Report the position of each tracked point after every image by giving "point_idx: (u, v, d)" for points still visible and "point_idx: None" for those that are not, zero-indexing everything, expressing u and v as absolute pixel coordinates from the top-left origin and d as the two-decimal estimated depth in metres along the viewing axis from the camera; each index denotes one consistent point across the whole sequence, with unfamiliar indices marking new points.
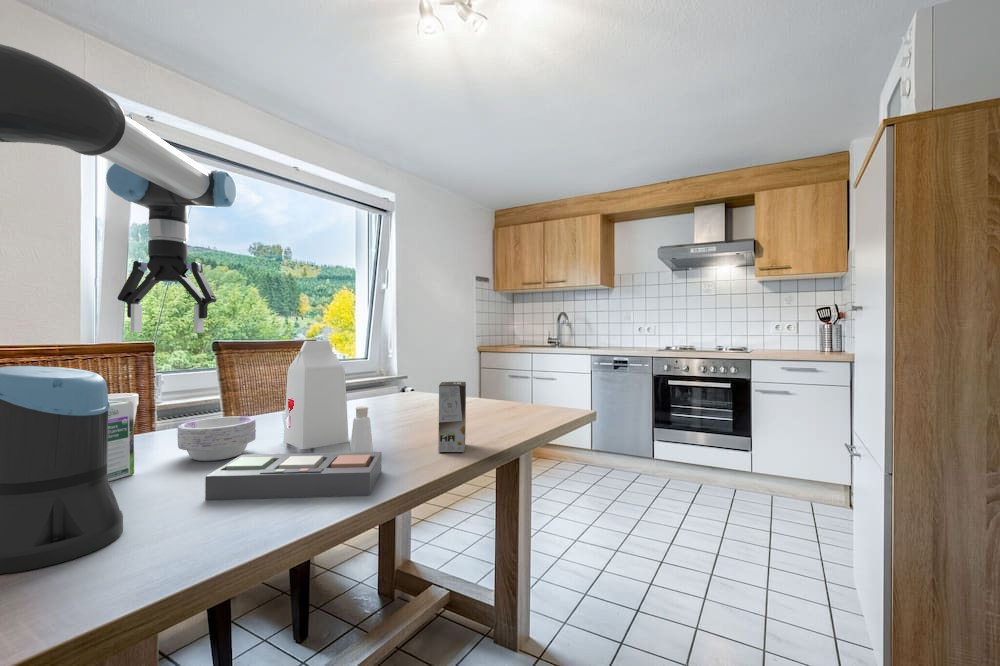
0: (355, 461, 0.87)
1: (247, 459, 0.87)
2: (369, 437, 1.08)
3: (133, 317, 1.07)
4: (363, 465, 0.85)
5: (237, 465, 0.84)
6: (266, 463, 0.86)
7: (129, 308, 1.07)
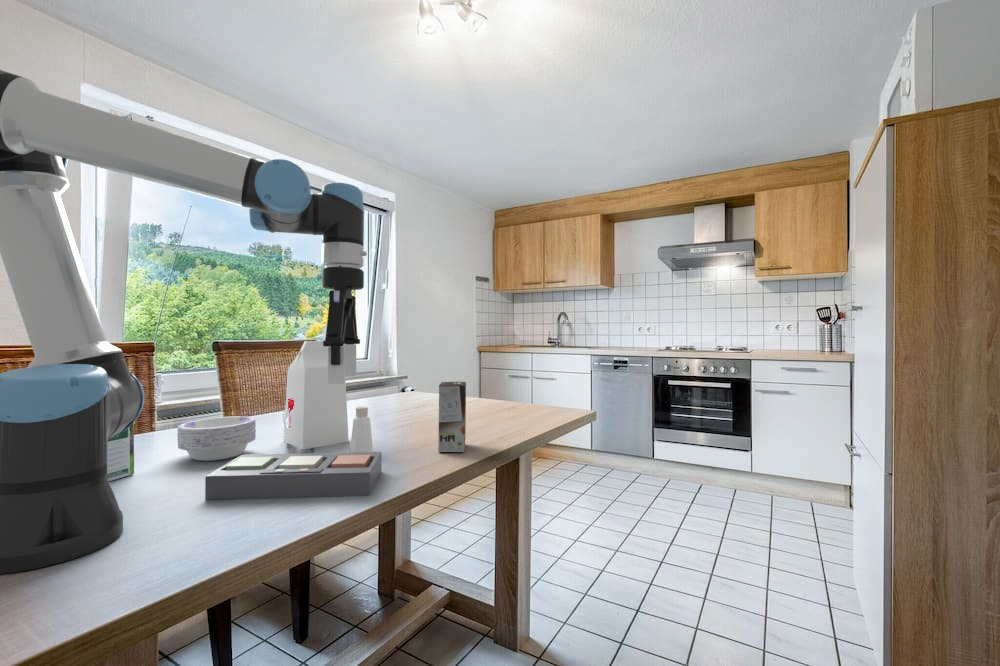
0: (355, 461, 0.87)
1: (247, 459, 0.87)
2: (369, 437, 1.08)
3: None
4: (363, 465, 0.85)
5: (237, 465, 0.84)
6: (266, 463, 0.86)
7: None
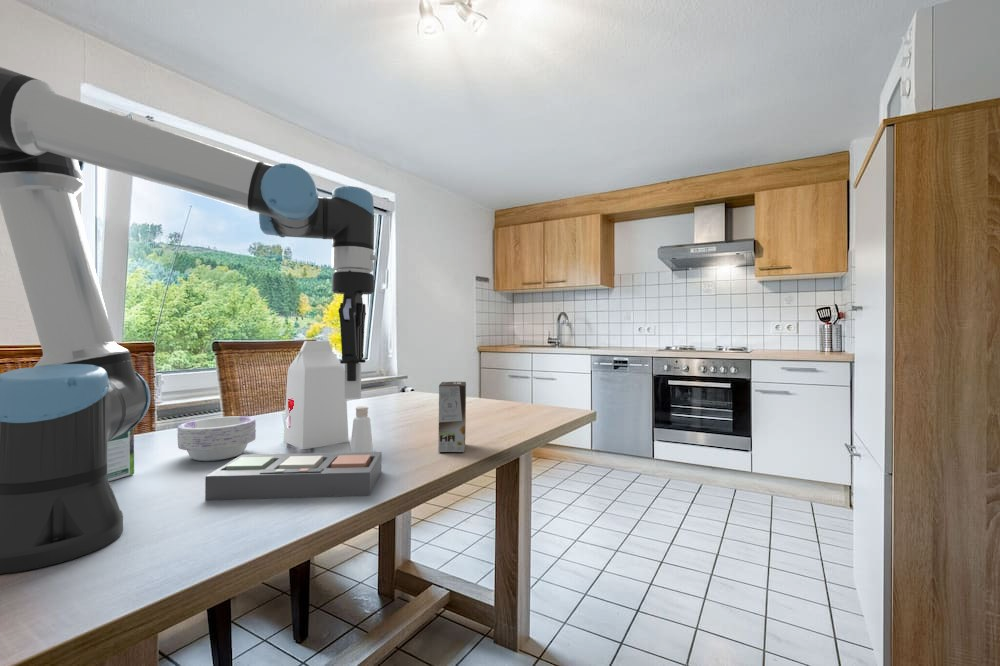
0: (355, 461, 0.87)
1: (247, 459, 0.87)
2: (369, 437, 1.08)
3: None
4: (363, 465, 0.85)
5: (237, 465, 0.84)
6: (266, 463, 0.86)
7: None
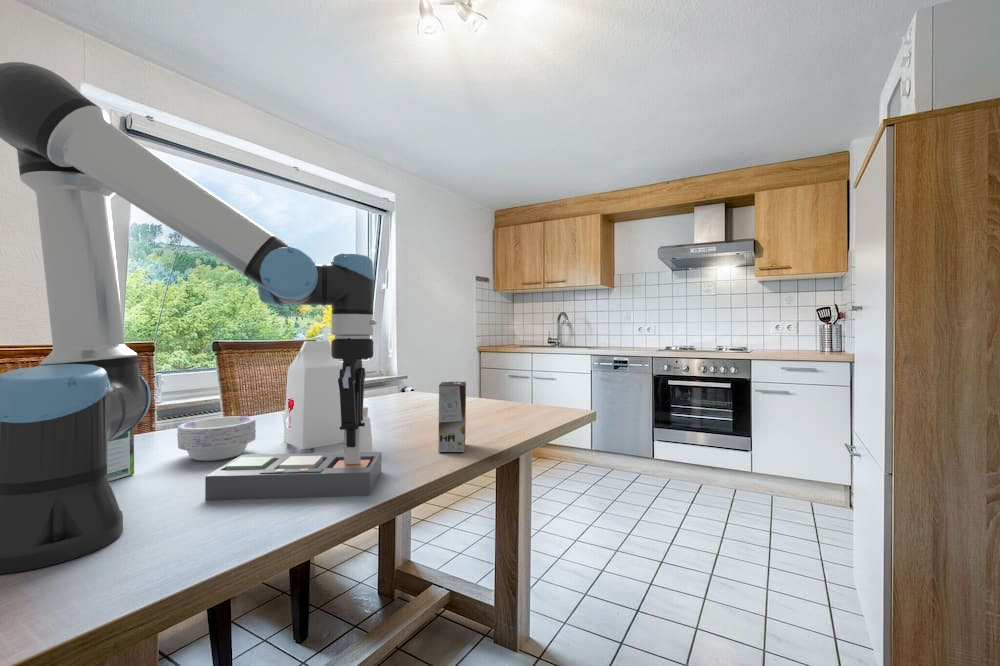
0: (355, 466, 0.87)
1: (247, 459, 0.87)
2: (369, 437, 1.08)
3: None
4: None
5: (237, 465, 0.84)
6: (266, 463, 0.86)
7: None
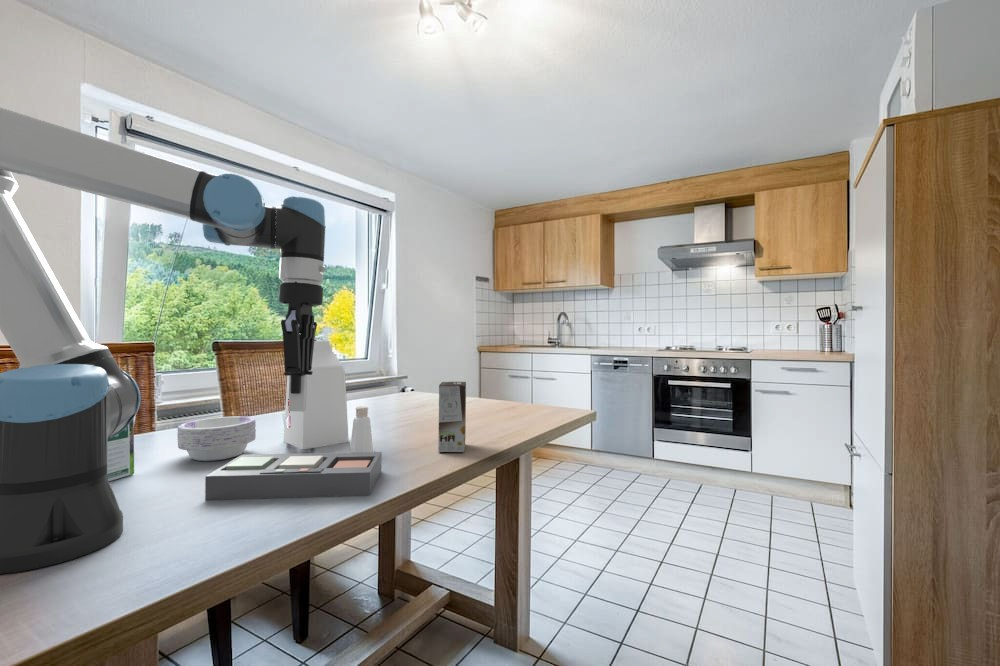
0: None
1: (247, 459, 0.87)
2: (369, 437, 1.08)
3: None
4: None
5: (237, 465, 0.84)
6: (266, 463, 0.86)
7: None
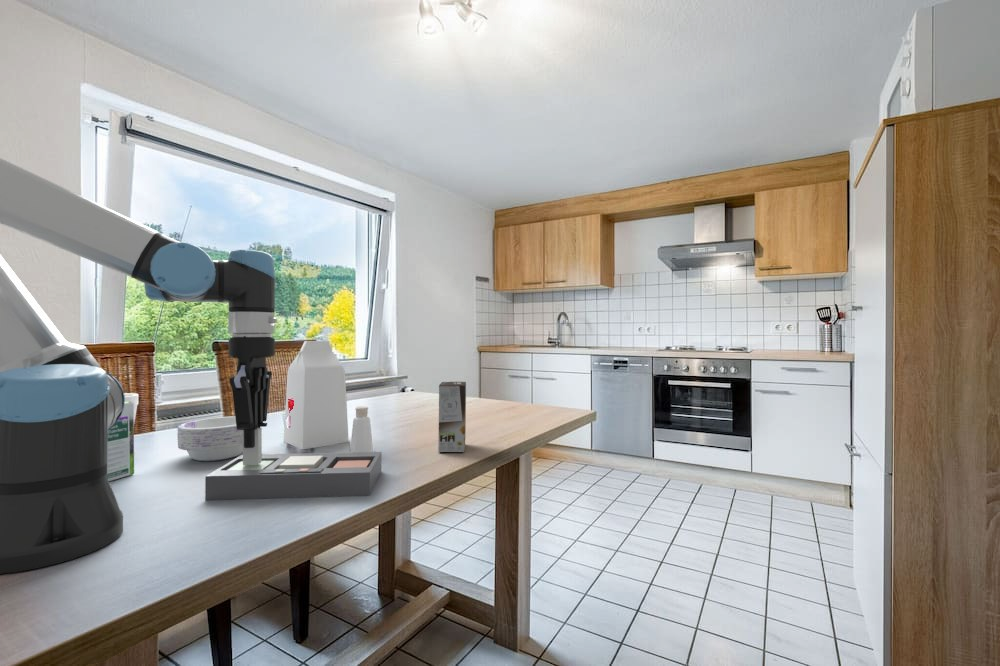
0: None
1: None
2: (369, 437, 1.08)
3: None
4: None
5: (237, 469, 0.84)
6: (266, 467, 0.86)
7: None
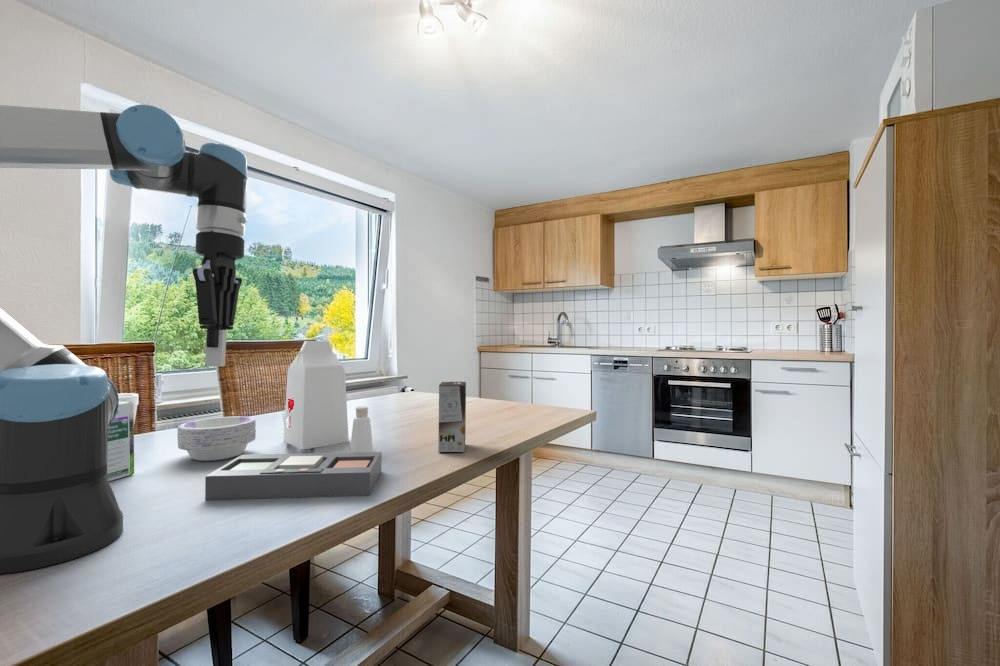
0: None
1: (247, 465, 0.87)
2: (369, 437, 1.08)
3: None
4: None
5: None
6: None
7: None
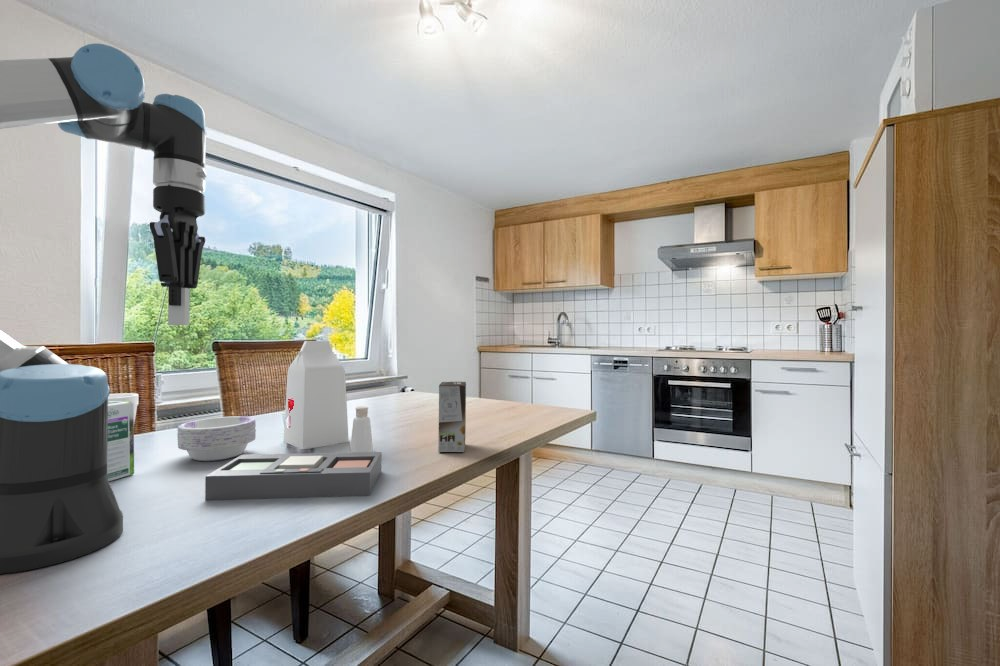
0: None
1: (247, 465, 0.87)
2: (369, 437, 1.08)
3: None
4: None
5: None
6: None
7: None
